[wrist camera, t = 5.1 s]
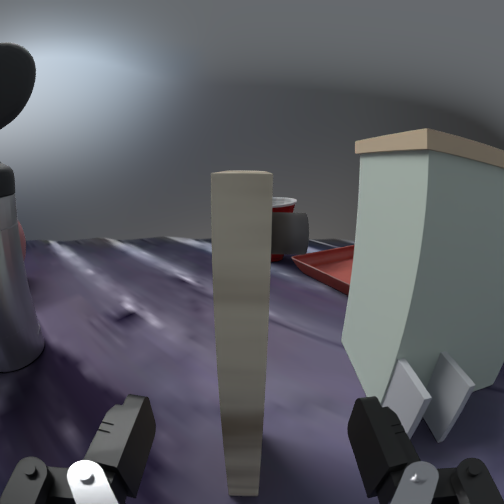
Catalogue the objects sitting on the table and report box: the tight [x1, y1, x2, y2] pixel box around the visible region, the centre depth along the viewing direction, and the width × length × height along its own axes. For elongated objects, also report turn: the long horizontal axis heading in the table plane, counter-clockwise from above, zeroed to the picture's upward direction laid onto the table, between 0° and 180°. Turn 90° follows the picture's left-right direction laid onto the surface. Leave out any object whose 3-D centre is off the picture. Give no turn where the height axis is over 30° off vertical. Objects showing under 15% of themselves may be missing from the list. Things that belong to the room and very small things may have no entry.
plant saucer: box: [291, 245, 355, 296], centre depth 50 cm, size 18×18×3 cm
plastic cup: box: [271, 197, 297, 262], centre depth 59 cm, size 11×11×12 cm
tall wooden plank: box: [211, 171, 309, 496], centre depth 14 cm, size 6×3×18 cm, turn 0°
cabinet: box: [341, 128, 504, 443], centre depth 21 cm, size 17×15×21 cm
